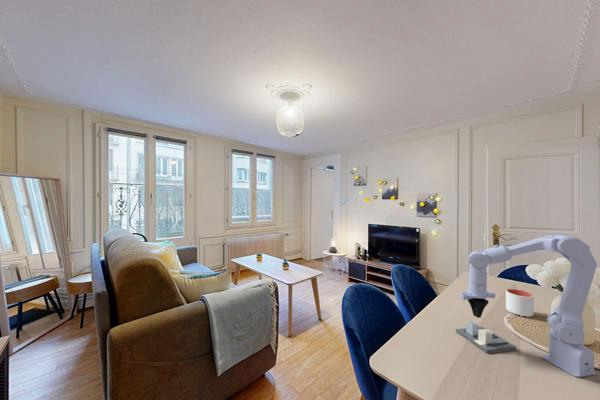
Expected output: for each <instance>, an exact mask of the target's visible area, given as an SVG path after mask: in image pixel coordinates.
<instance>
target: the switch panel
mask: <svg viewBox="0 0 600 400" xmlns="http://www.w3.org/2000/svg"><path fill="white" fill-rule="evenodd" d="M479 329H486V330H488V331H490V332H491V333H492V344H484V343H482V342H481V341H479V340H478V335H474V336H472V335H470V334H469V333H467V332H466V327H465V328H456V329H455V333H457V334H458V335H459V334H460V335H459V336H460V337H462V336H463V338H464V339H465V338H466V339H465V340H466V341H468V340H469V341H470V342H469V341H468V342H469V343H471V342H472V343H473V345H474V346H475V345H476V346H475V347H476V348H478V349H479V350H481V351H482V352H483V353H485V354H491V353H499V352H509V351H514V350H515V351H516V350H517V346H516V345H515V344H513V343H511V342H509V341H508V340H506V339H504V337H501V336H499V335H498V334H496V333H495V332H493V331H492V330H490V329H487V328H485V327H484V326H479ZM472 343H471V344H472Z"/></svg>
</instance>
